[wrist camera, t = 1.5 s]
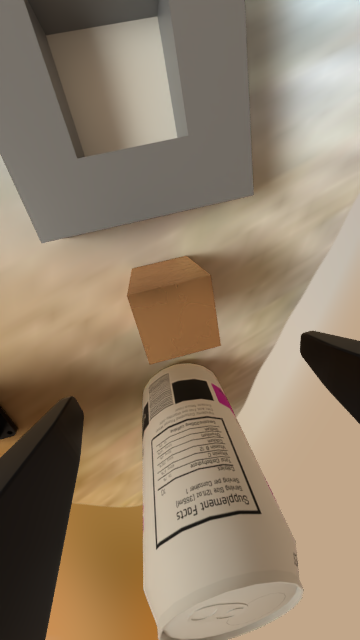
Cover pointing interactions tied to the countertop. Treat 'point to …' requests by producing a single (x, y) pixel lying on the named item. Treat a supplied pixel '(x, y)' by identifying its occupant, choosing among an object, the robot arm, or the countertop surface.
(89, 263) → the countertop surface
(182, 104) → the charcoal well block
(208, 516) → the supplement can
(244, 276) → the countertop surface
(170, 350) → the wooden toy block
